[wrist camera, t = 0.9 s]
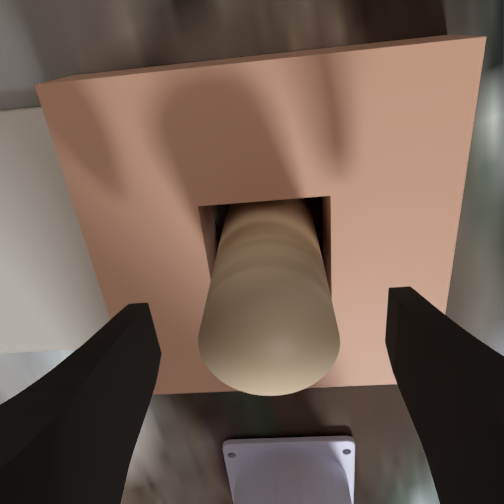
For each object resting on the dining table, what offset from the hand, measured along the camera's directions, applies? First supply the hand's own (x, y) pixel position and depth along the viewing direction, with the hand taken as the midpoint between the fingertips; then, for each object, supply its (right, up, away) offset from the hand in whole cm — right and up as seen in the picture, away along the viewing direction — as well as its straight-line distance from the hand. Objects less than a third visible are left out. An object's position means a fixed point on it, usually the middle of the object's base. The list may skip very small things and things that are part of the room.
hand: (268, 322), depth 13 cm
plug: (0, +3, +6) cm, 7 cm away
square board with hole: (0, +3, +6) cm, 7 cm away
